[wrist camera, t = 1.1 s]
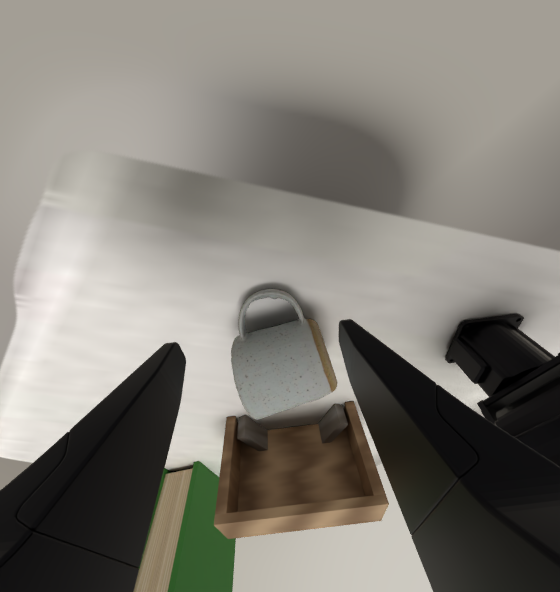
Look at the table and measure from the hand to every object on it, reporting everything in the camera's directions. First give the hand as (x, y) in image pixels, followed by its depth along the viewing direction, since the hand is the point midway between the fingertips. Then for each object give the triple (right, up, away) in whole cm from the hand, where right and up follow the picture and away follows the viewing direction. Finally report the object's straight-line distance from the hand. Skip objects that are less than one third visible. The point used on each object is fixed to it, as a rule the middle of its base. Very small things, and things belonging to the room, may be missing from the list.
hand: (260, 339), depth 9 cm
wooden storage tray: (+3, -17, +26) cm, 31 cm away
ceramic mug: (0, -2, +16) cm, 16 cm away
